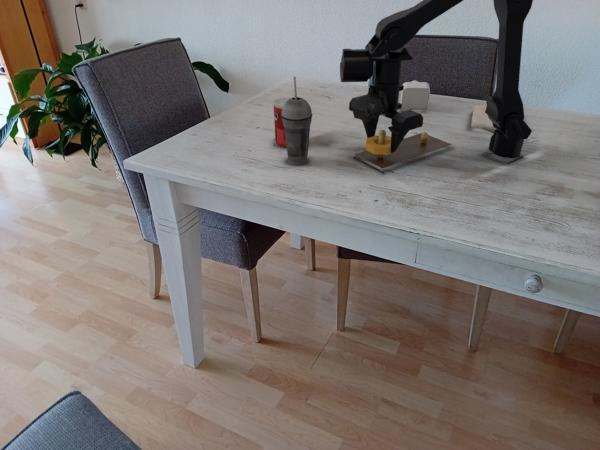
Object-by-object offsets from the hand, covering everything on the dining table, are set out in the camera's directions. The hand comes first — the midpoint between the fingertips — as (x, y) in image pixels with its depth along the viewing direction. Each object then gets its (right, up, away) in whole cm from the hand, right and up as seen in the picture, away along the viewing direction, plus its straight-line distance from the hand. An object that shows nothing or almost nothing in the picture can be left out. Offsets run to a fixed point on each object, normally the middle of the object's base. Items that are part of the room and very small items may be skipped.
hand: (381, 147), depth 108 cm
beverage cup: (-20, -3, +3) cm, 20 cm away
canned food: (-22, +3, +13) cm, 26 cm away
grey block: (+16, +19, +36) cm, 43 cm away
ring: (0, 0, 0) cm, 0 cm away
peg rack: (+7, -1, +6) cm, 9 cm away
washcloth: (+36, +11, +23) cm, 44 cm away
